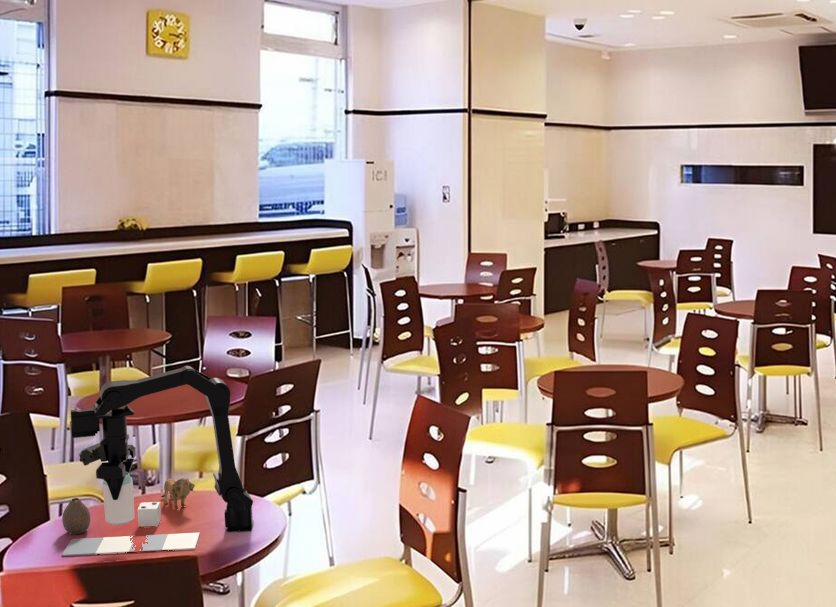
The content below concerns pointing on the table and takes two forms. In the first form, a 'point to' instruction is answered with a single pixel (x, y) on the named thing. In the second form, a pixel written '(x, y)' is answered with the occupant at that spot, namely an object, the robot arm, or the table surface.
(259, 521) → the table surface
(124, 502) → the can
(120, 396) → the robot arm
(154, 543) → the board
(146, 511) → the die
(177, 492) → the lion figurine
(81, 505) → the vase
